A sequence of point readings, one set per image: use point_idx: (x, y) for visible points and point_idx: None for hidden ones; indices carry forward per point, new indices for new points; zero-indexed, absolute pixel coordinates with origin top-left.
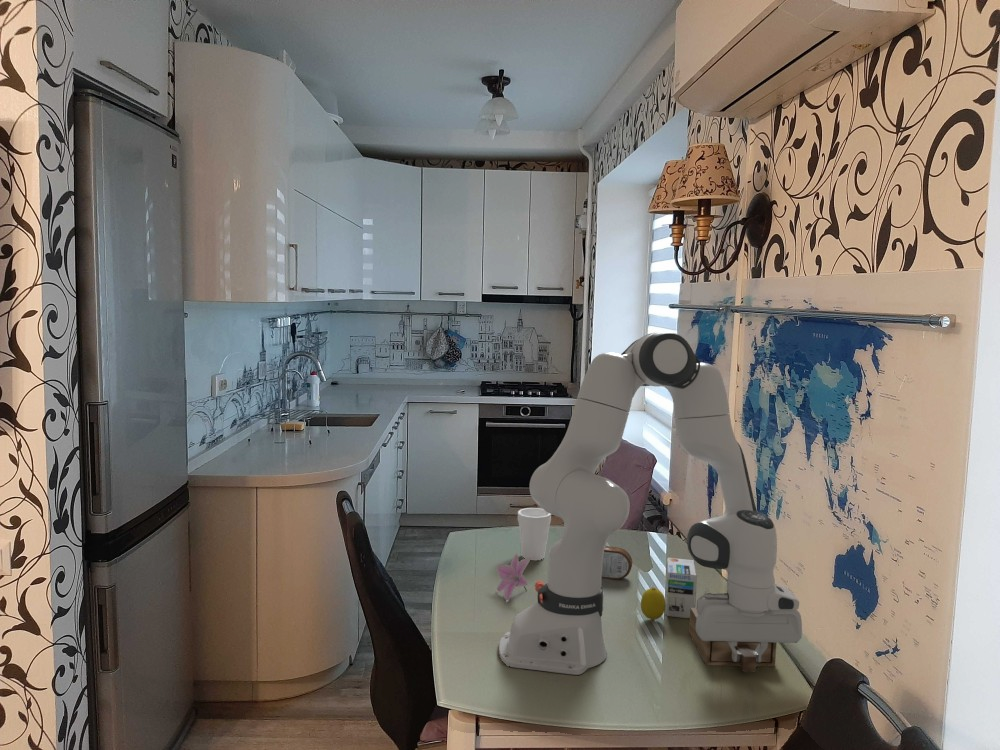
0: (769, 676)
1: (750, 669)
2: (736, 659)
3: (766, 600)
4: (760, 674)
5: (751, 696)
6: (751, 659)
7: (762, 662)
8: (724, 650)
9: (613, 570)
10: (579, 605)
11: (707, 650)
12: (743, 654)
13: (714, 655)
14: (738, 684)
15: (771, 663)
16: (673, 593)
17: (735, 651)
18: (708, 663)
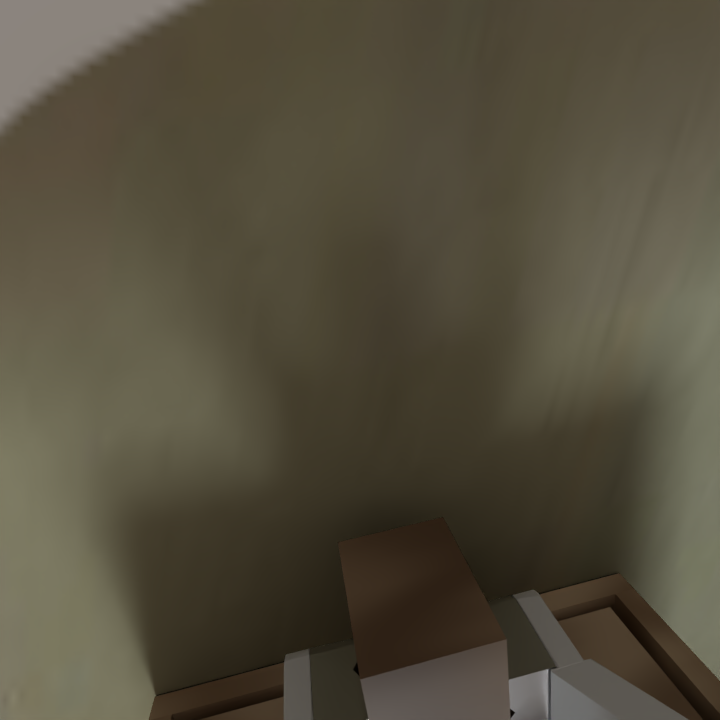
0: (210, 562)
1: (385, 542)
2: (529, 610)
3: None
4: (277, 568)
5: (411, 212)
6: (406, 631)
7: (245, 704)
8: None
9: None
10: None
11: (708, 672)
12: (498, 679)
13: (619, 649)
14: (473, 385)
15: (177, 714)
16: None
17: (601, 692)
18: (614, 584)
